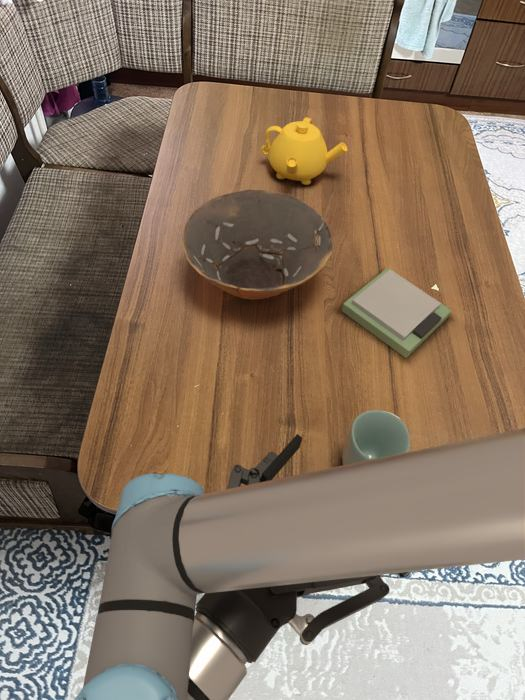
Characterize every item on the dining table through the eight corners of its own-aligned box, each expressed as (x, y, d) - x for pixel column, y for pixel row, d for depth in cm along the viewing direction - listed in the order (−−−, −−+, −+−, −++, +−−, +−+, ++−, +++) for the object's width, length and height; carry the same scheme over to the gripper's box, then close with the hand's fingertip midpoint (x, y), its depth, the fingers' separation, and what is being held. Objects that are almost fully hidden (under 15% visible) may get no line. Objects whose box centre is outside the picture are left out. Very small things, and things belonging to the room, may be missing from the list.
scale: (448, 317, 94) (454, 306, 92) (406, 358, 88) (411, 347, 86) (384, 274, 99) (388, 263, 97) (341, 310, 93) (344, 299, 91)
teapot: (285, 200, 110) (292, 152, 101) (253, 163, 117) (256, 115, 108) (342, 182, 115) (353, 135, 106) (308, 148, 122) (315, 101, 113)
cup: (394, 494, 74) (416, 464, 66) (339, 493, 73) (354, 463, 65) (386, 443, 78) (406, 409, 70) (334, 442, 78) (347, 408, 70)
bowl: (307, 227, 106) (315, 185, 98) (337, 323, 91) (348, 283, 83) (180, 234, 102) (176, 191, 94) (189, 335, 88) (187, 294, 80)
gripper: (133, 559, 57) (259, 427, 68) (321, 742, 49) (430, 559, 59) (124, 538, 51) (263, 397, 62) (336, 742, 43) (455, 539, 53)
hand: (346, 476), depth 61 cm, fingers open, 13 cm apart
